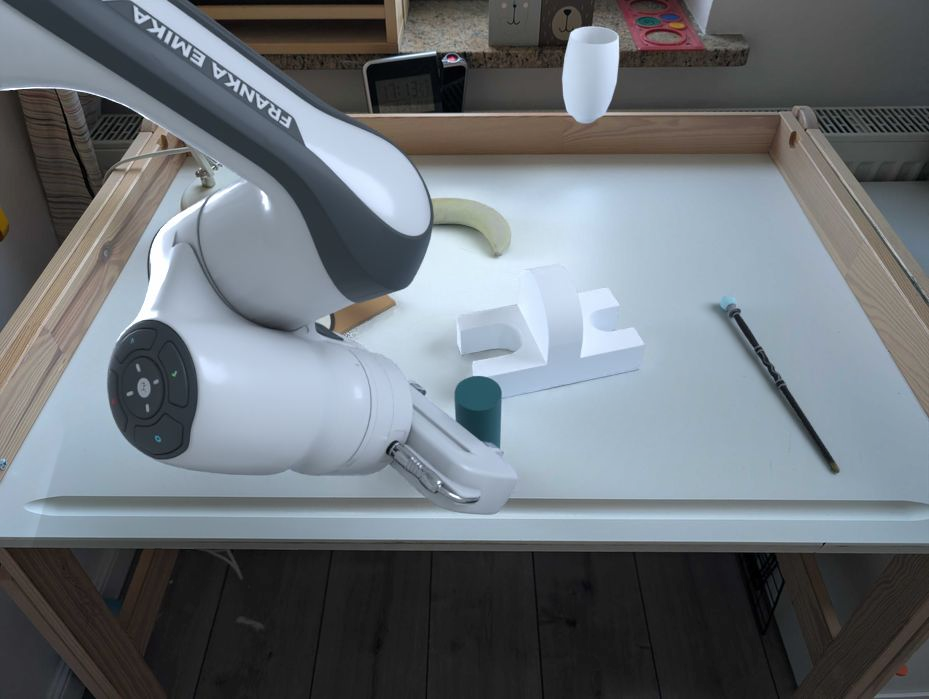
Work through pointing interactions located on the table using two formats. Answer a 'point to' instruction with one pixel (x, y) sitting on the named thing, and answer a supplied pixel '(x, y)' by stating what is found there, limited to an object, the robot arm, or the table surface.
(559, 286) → the block with arch cutout
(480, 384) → the teal cylinder
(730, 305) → the magic staff
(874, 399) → the table surface
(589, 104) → the cup
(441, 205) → the fruit
